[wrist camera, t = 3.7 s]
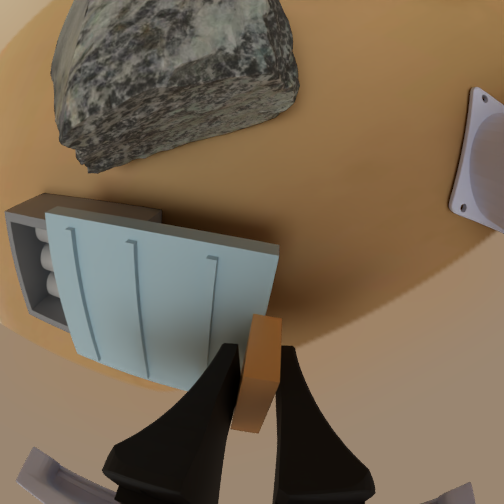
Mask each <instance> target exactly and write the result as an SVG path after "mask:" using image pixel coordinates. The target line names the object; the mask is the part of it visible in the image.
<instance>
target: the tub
mask: <svg viewBox="0 0 504 504" xmlns="http://www.w3.org/2000/svg"><path fill="white" fill-rule="evenodd" d="M57 206H60V207H66V208H72V209H78V210H85V211H91V212H97V213H103V214H109V215H115V216H121V217H127V218H132V219H138V220H144V221H150V222H156V223H161V221H162V210H159V209H153V208H147V207H140V206H134V205H127V204H120V203H113V202H106V201H99V200H92V199H85V198H77V197H70V196H62V195H54V194H46V193H43V194H41V195H38V196H36V197H34V198H31V199H29V200H27V201H25V202H23V203H21V204H18V205H16V206H14V207H12V208H10V209H8V210H6V211H5V218H6V224H7V230H8V236H9V241H10V246H11V251H12V256H13V260H14V264H15V268H16V272H17V276H18V280H19V283H20V287H21V290H22V293H23V296H24V300H25V303H26V306H27V309H28V311H29V314H31V315H32V316H34V317H36V318H38V319H41V320H43V321H45V322H47V323H49V324H51V325H53V326H55V327H57V328H60V329H62V330H64V331H66V332H69V333H70V331H69V327H68V324H67V321H66V318H65V314H64V311H63V307H62V303H61V300H60V296H59V292H58V288H57V283H56V279H55V274H54V270H53V265H52V259H51V254H50V248H49V242H48V235H47V227H46V219H45V212H47V211H49V210H51V209H53V208H55V207H57Z"/></svg>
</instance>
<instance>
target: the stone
mask: <svg viewBox="0 0 504 504" xmlns="http://www.w3.org/2000/svg"><path fill="white" fill-rule="evenodd" d="M292 49H293V37H292V32H291V28H290V24H289V21H288V19H287V17H286V15H285V13H284V11H283V9H282V6H281V4H280V2H279V0H74V2H73V4H72V6H71V8H70V10H69V13H68V15H67V17H66V20H65V22H64V25H63V27H62V30H61V32H60V35H59V38H58V41H57V45H56V49H55V53H54V57H53V61H52V66H51V77H52V80H53V84H54V112H55V122H56V124H57V127H58V130H59V142H60V143H61V144H62V145H64V146H66V147H68V148H72V149H75V151H76V158H77V160H78V161H79V162H80V164H81V165H83V164H85V166H87V168H88V173H97V174H98V173H100V172H103V171H106V170H108V169H111V168H113V167H116V166H121V165H124V164H126V163H128V162H130V161H132V160H134V159H138V158H146V157H148V156H150V155H152V154H154V153H157V152H160V151H163V150H169V149H173V148H175V147H177V146H180V145H183V144H186V143H189V142H193V141H197V140H201V139H205V138H209V137H213V136H217V135H222V134H226V133H230V132H233V131H236V130H239V129H243V128H246V127H250V126H253V125H255V124H259V123H262V122H264V121H267V120H269V119H272V118H275V117H277V116H278V115H279V114H280V112H283V111H285V110H287V109H288V108H289V107H290V106H291V105H292V104H293V103H294V102H295V100H296V96H297V93H298V90H299V87H300V84H299V81H298V68H297V64H296V61H295V57H294V54H293V52H292Z"/></svg>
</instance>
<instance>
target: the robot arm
mask: <svg viewBox="0 0 504 504" xmlns="http://www.w3.org/2000/svg"><path fill="white" fill-rule="evenodd" d="M482 96H483V98H484V101H483V99H482ZM462 204H463V208H462V210H460V208H461V205H462ZM449 209H450V210H451V211H452V212H453V213H455V214H458V215H460V216H463V217H465V218H468V219H470V220H473V221H475V222H478V223H480V224H483V225H485V226H487V227H490V228H492V229H494V230H497V231H499V232H501V233H503V234H504V105H503V104H501V103H500V102H499V101H497V100H496V99H495V98H493V97H492V96H491V95H489V94H488V93H486V92H485V91H483V90H482V89H480V88H479V87H473V88H472V89H471V91H470V101H469V110H468V118H467V125H466V131H465V137H464V143H463V148H462V153H461V158H460V162H459V167H458V171H457V175H456V179H455V183H454V187H453V190H452V194H451V197H450V201H449ZM240 376H241V371H240V359H239V348H238V344H233V343H223V344H222V345H221V347H220V349H219V351H218V352H217V354H216V355H215V357H214V358H213V360H212V361H211V363H210V364H209V366H208V367H207V368H206V370H205V371H204V373H203V374H202V375H201V376H200V378H199V379H198V380H197V381H196V383H195V384H194V385H193V386H192V387H191V388H190V390H189V391H188V392H187V393H186V394H185V395H184V396H183V397H182V398H181V399H180V400H179V401H178V402H177V403H176V404H175V405H174V406H173V407H172V408H171V409H169V410H168V411H167V412H166V413H165V414H164V415H162V416H161V417H160V418H159V419H157V420H156V421H155V422H153V423H152V424H150V425H149V426H147V427H146V428H144V429H143V430H142V431H140V432H138V433H137V434H135V435H133V436H131V437H130V438H128V439H126V440H124V441H122V442H120V443H118V444H116V445H114V447H113V449H112V450H111V452H110V454H109V455H108V457H107V460H106V462H105V465H104V467H103V469H102V471H103V473H104V474H105V476H107V477H108V478H109V479H111V480H112V481H113V482H115V483H116V484H117V485H119V487H118V490H117V492H114V491H112V490H109V489H107V488H105V487H102V486H100V485H98V484H96V483H94V482H92V481H90V480H87V479H85V478H83V477H81V476H79V475H77V474H76V473H73V472H72V471H70V470H68V469H66V468H64V467H63V466H61V465H60V464H59V463H58V462H56V461H55V460H54V459H52V458H51V457H50V456H48V455H47V454H45V453H43V452H42V451H40V450H39V449H37V448H35V447H33V448H32V450H31V452H30V454H29V456H28V457H27V459H26V461H25V463H24V465H23V467H22V469H21V471H20V473H19V475H18V477H17V479H16V482H17V483H18V484H19V485H21V486H22V487H23V488H24V489H26V490H27V491H28V492H30V493H31V494H32V495H33V496H35V497H36V498H37V499H38V500H40V501H41V502H42V503H44V504H218V499H219V490H220V482H221V474H222V466H223V459H224V452H225V446H226V440H227V435H228V431H229V428H230V424H231V420H232V416H233V412H234V408H235V404H236V399H237V393H238V388H239V382H240ZM276 416H277V458H276V470H275V482H274V493H273V504H365V501H366V500H368V499H369V498H371V497H372V496H373V495H374V494H375V485H374V481H373V478H372V476H371V473H370V471H369V469H368V468H367V467H366V466H365V465H364V464H363V463H362V462H361V461H360V460H359V459H358V458H357V457H356V456H355V455H353V453H352V452H351V451H350V450H349V449H348V448H347V447H346V446H345V444H344V443H343V442H342V441H341V439H340V438H339V437H338V436H337V435H336V433H335V432H334V431H333V429H332V428H331V426H330V425H329V423H328V422H327V421H326V419H325V417H324V416H323V414H322V413H321V411H320V409H319V407H318V406H317V404H316V402H315V400H314V398H313V396H312V394H311V392H310V390H309V388H308V386H307V384H306V382H305V379H304V377H303V374H302V371H301V369H300V366H299V363H298V359H297V356H296V351H295V347H293V346H281V366H280V383H279V386H278V388H277V391H276ZM421 504H475V499H474V494H473V490H472V485H471V482H468V483H466V484H464V485H462V486H460V487H457V488H455V489H453V490H450V491H448V492H446V493H444V494H442V495H440V496H439V497H438V498H436V499H433V500H430V501H427V502H424V503H421Z"/></svg>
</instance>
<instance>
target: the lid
mask: <svg viewBox="0 0 504 504" xmlns="http://www.w3.org/2000/svg"><path fill="white" fill-rule="evenodd" d="M45 219H46V227H47V235H48V242H49V248H50V254H51V259H52V265H53V270H54V274H55V279H56V283H57V288H58V292H59V296H60V300H61V303H62V307H63V311H64V314H65V318H66V321H67V324H68V327H69V331H70V334H71V337H72V340H73V343H74V345H75V348H76V351H77V353H78V354H80V355H82V356H85V357H87V358H89V359H92V360H94V361H97V362H99V363H102V364H104V365H107V366H109V367H112V368H115V369H117V370H120V371H123V372H126V373H129V374H131V375H134V376H137V377H140V378H143V379H147V380H150V381H153V382H156V383H160V384H163V385H167V386H170V387H174V388H177V389H181V390H185V391H189V390H190V388H191V387H192V386H193V385H194V384H195V383H196V381H197V380H198V379H199V378H200V376H201V375H202V374H203V373H204V371H205V370H206V368H207V367H208V366H209V364H210V363H211V361H212V360H213V358H214V357H215V355H216V354H217V352H218V351H219V349H220V347H221V345H222V344H223V343H233V344H238V348H239V359H240V371H241V376H240V382H239V388H238V393H237V399H236V404H235V408H234V413H233V419H232V424H231V429H233V430H239V431H245V432H252V433H259V431H260V429H261V426H262V424H263V422H264V419H265V417H266V415H267V412H268V410H269V408H270V405H271V403H272V400H273V398H274V395H275V393H276V391H277V388H278V386H279V383H280V366H281V332H282V319H281V318H275V317H270V316H265V315H266V310H267V306H268V302H269V298H270V294H271V289H272V285H273V281H274V276H275V272H276V268H277V263H278V259H279V245H277V244H272V243H266V242H261V241H256V240H250V239H245V238H239V237H234V236H229V235H223V234H218V233H212V232H207V231H201V230H195V229H190V228H184V227H178V226H173V225H167V224H161V223H156V222H150V221H144V220H138V219H132V218H127V217H121V216H115V215H109V214H103V213H97V212H91V211H85V210H78V209H72V208H66V207H60V206H57V207H55V208H53V209H51V210H49V211H47V212H45Z"/></svg>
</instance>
